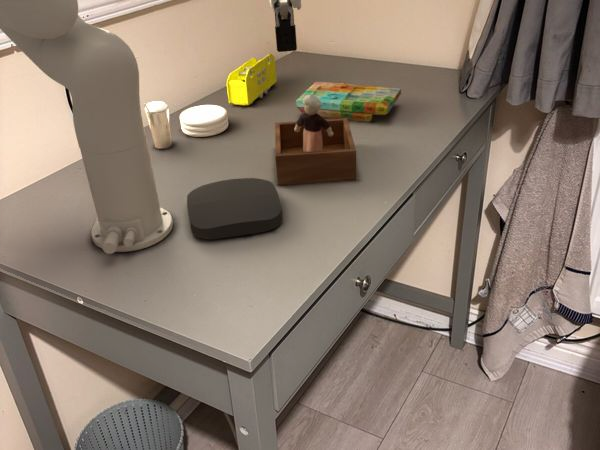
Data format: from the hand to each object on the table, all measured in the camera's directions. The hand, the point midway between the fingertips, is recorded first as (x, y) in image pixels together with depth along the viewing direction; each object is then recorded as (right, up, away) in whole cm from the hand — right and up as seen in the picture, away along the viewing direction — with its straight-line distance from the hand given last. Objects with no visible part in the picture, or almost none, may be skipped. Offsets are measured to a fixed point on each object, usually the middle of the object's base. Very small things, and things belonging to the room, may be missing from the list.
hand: (286, 42), depth 107 cm
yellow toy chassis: (-9, 0, +44) cm, 45 cm away
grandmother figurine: (+5, -19, +11) cm, 22 cm away
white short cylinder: (-18, -10, +29) cm, 35 cm away
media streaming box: (-8, -29, -3) cm, 30 cm away
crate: (+5, -19, +11) cm, 23 cm away
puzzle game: (+13, -6, +32) cm, 35 cm away
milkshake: (-25, -15, +22) cm, 37 cm away
